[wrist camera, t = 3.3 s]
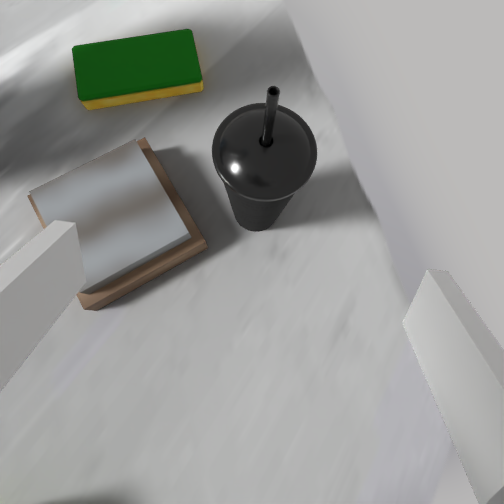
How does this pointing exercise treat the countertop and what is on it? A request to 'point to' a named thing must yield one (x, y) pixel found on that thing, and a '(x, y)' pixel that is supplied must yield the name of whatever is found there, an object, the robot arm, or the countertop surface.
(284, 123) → the drinking cup
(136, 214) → the two-layer plinth
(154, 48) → the dish sponge
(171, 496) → the countertop surface
